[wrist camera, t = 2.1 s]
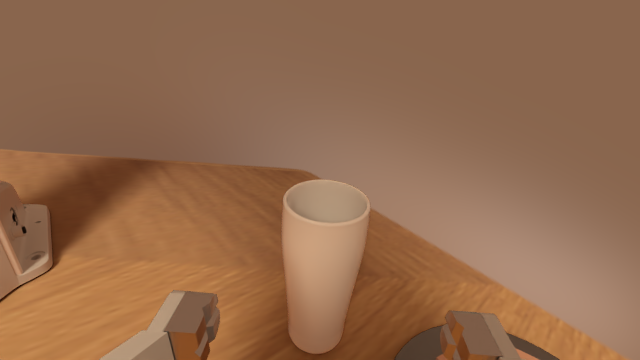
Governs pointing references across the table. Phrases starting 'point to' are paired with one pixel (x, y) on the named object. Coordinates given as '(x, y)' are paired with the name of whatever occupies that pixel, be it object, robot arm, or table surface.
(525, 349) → the round tray
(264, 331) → the table surface
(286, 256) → the drinking glass
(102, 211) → the table surface
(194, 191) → the table surface
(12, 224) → the robot arm
